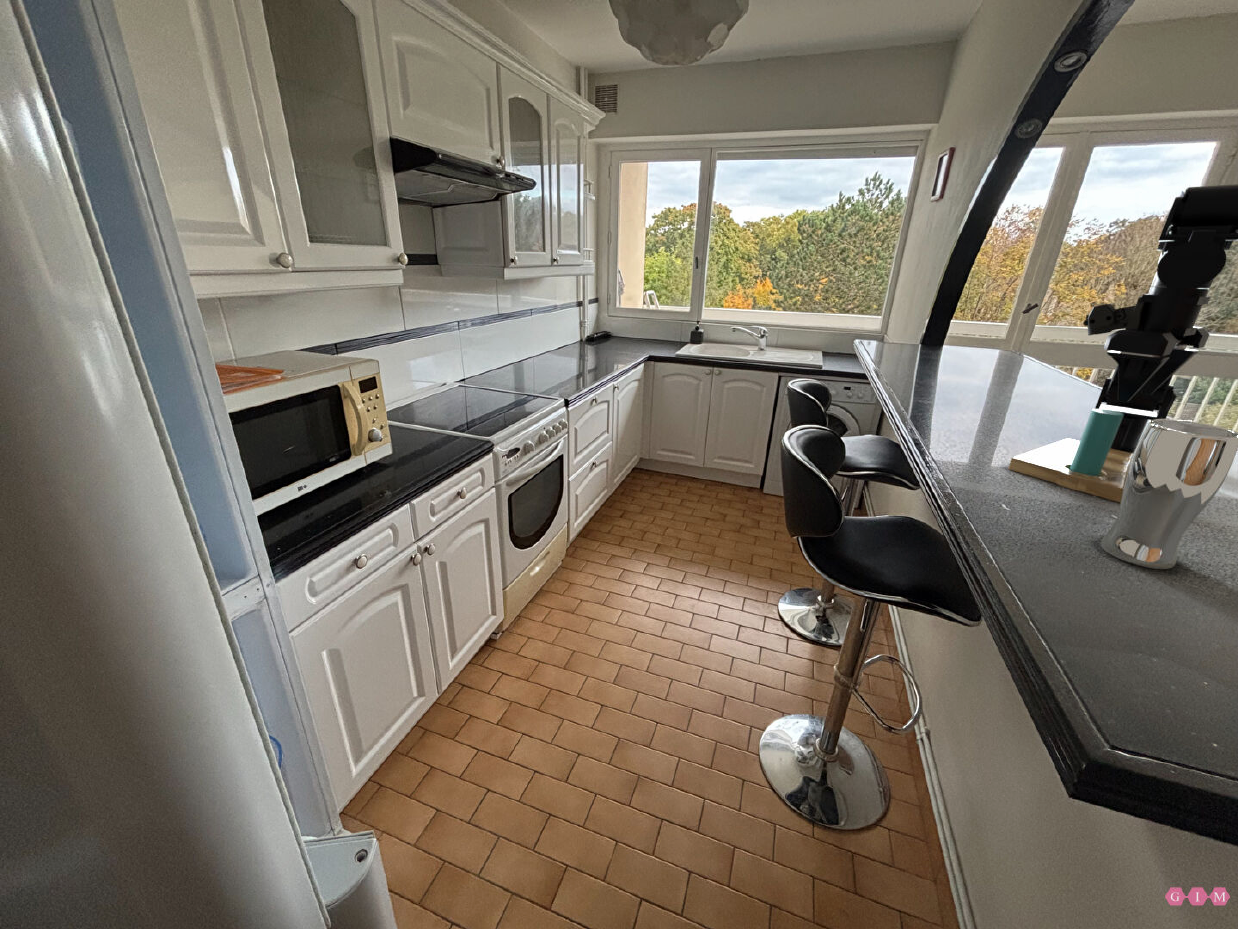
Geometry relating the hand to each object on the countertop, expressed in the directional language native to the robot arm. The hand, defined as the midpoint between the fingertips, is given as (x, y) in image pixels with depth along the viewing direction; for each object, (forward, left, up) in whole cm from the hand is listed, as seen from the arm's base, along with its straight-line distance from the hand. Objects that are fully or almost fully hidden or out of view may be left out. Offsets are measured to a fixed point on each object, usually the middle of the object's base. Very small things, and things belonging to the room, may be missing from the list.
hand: (1134, 397), depth 76 cm
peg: (+9, 0, -12) cm, 15 cm away
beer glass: (+29, +12, -12) cm, 34 cm away
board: (+3, -1, -12) cm, 12 cm away
